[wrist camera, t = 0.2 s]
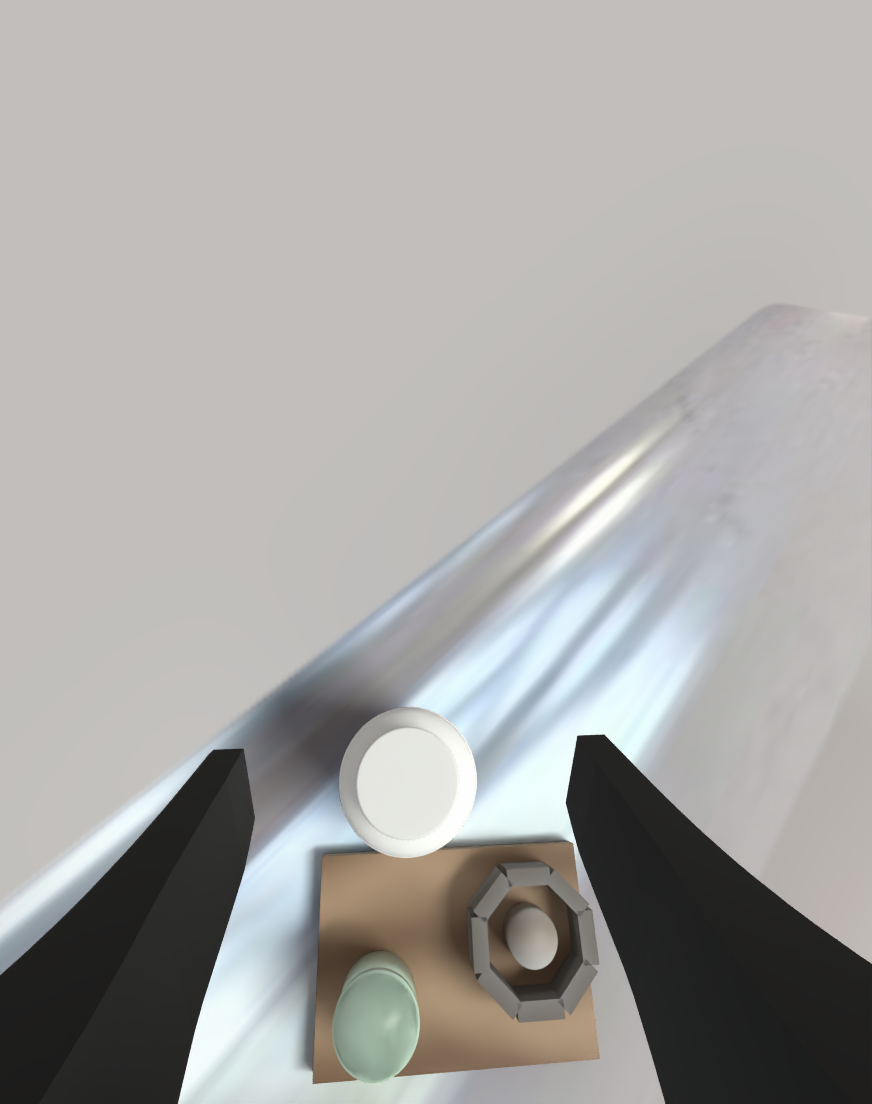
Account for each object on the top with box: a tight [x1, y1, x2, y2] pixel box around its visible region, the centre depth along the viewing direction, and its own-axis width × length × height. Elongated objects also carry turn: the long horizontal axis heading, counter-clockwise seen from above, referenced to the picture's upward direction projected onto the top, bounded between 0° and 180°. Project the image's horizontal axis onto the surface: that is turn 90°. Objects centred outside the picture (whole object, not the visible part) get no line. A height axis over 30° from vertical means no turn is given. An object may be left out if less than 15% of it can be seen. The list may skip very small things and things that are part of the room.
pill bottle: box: [339, 707, 477, 858], centre depth 32 cm, size 8×8×15 cm
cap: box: [332, 951, 420, 1083], centre depth 31 cm, size 5×5×4 cm
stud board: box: [313, 841, 600, 1084], centre depth 33 cm, size 12×18×4 cm, turn 92°
